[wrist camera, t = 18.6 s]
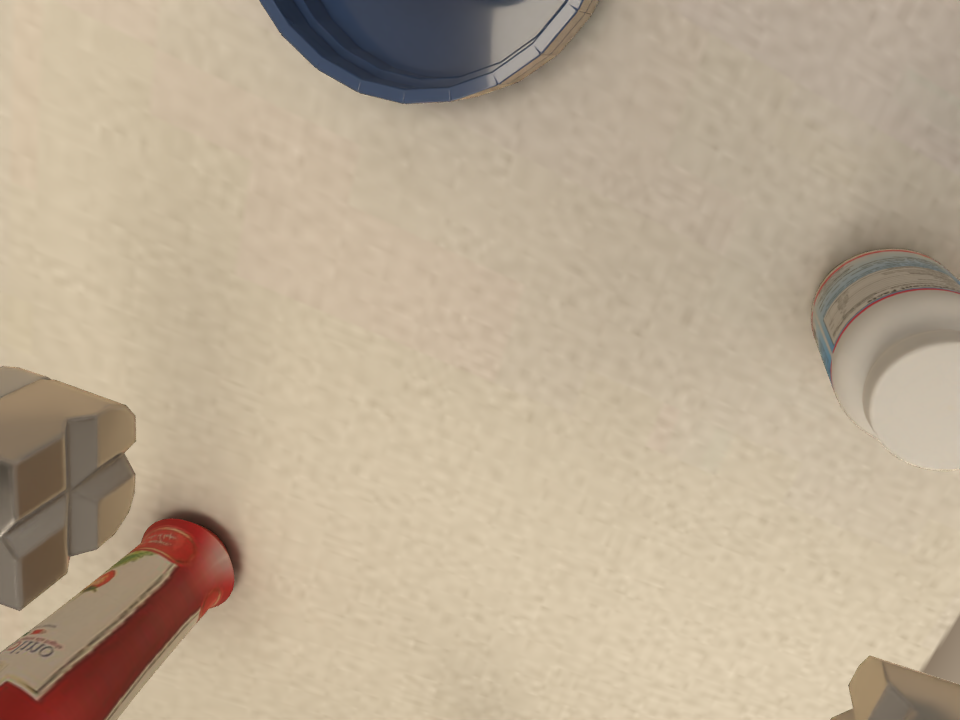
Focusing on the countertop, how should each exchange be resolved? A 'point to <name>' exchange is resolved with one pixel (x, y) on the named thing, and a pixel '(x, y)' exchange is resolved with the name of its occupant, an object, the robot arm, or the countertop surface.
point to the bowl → (428, 42)
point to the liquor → (116, 628)
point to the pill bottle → (895, 352)
